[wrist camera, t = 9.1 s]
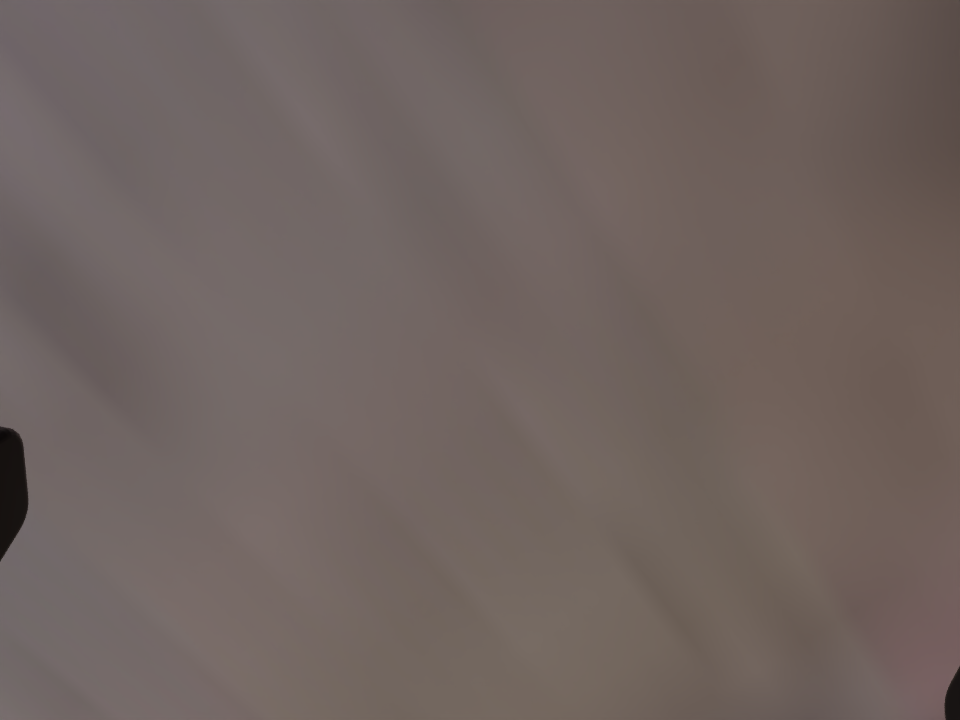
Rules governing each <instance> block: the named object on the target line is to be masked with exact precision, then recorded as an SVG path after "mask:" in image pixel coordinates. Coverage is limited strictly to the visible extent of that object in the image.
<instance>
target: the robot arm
mask: <svg viewBox="0 0 960 720" xmlns="http://www.w3.org/2000/svg"><path fill="white" fill-rule="evenodd" d="M27 510H28V489H27V479H26V468H25V458H24V447H23V442H22V439H21V437H20V435H19V434H18V433H17V432H16V431H14V430H13V429H10V428H5V427H1V426H0V561H1V559H2V558H3V556H4V555H5V553H6V551H7V550H8V548H9V547H10V545H11V543H12V542H13V540H14V538H15V537H16V535H17V534H18V532H19V530H20V529H21V527H22V525H23V523H24V520H25V518H26V514H27ZM945 718H946V720H960V667H959V669H958V670H957V672H956V674H955V676H954V678H953V680H952V681H951V683H950V685H949V687H948V690H947V693H946V697H945Z"/></svg>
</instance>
